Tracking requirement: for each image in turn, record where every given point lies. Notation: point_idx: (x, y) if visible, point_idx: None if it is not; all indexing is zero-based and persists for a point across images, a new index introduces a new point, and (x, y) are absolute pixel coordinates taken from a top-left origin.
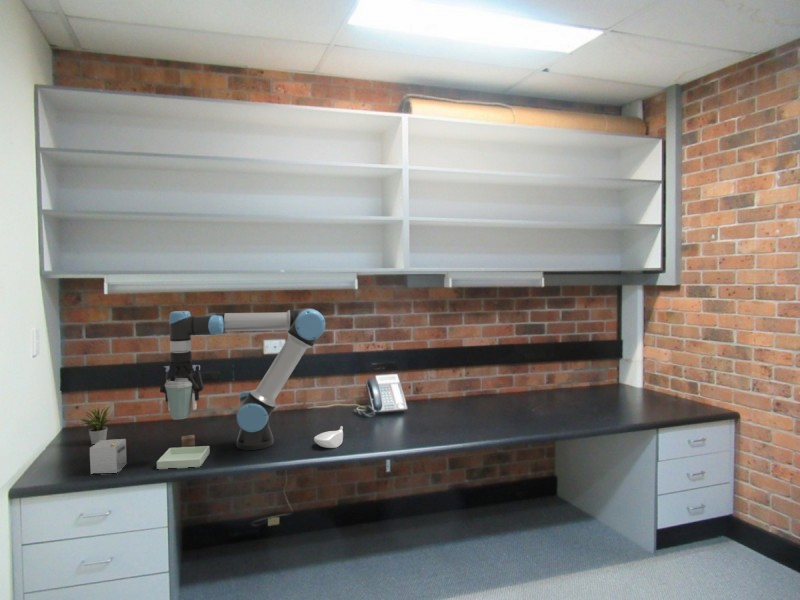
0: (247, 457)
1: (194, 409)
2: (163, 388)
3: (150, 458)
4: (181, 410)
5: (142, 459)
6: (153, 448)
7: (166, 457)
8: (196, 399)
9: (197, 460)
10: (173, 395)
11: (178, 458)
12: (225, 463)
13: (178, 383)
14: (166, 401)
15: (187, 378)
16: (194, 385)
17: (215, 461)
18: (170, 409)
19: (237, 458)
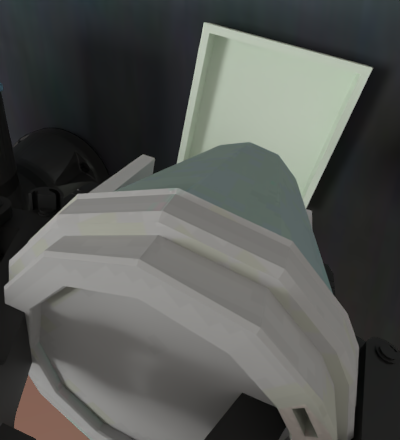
0: (70, 66)
1: (143, 156)
2: (366, 371)
3: (368, 205)
4: (223, 150)
5: (396, 208)
6: (343, 290)
7: (320, 156)
8: (94, 188)
9: (213, 24)
10: (261, 198)
11: (279, 144)
12: (130, 30)
13: (137, 249)
14: (325, 266)
15: (8, 355)
16: (9, 249)
17: (163, 69)
18: (299, 195)
19: (98, 69)
